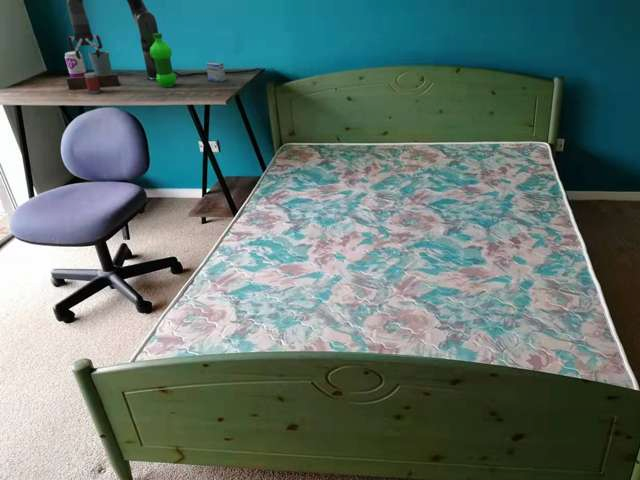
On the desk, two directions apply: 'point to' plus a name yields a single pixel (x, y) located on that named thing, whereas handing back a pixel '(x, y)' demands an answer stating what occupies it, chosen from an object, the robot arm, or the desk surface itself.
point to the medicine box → (215, 72)
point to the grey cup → (101, 63)
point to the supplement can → (75, 64)
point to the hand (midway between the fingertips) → (89, 58)
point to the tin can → (92, 83)
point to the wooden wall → (102, 79)
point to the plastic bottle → (162, 61)
